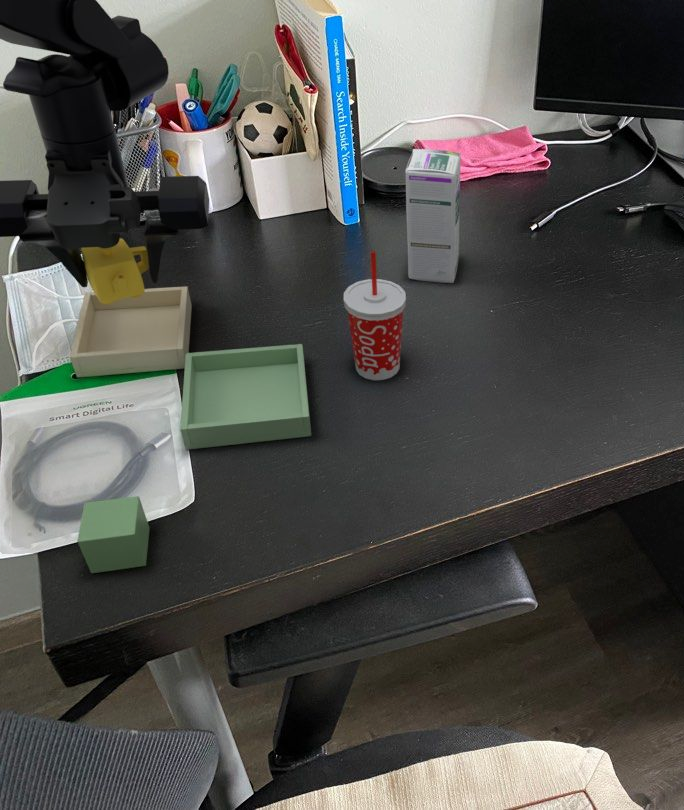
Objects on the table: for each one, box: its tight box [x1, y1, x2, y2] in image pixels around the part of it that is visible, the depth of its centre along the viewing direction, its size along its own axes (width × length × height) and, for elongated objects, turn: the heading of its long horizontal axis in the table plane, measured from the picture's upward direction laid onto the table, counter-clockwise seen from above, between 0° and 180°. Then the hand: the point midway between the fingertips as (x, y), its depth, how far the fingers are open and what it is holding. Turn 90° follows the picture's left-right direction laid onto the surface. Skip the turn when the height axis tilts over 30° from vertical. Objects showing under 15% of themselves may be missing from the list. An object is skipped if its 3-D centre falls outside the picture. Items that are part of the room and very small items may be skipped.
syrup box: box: [404, 148, 462, 284], centre depth 97 cm, size 6×6×14 cm
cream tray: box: [69, 286, 193, 378], centre depth 85 cm, size 10×11×3 cm
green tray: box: [179, 343, 312, 451], centre depth 80 cm, size 11×11×3 cm
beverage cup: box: [343, 250, 407, 381], centre depth 82 cm, size 6×6×14 cm
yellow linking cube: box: [80, 237, 149, 304], centre depth 80 cm, size 8×6×5 cm
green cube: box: [77, 495, 151, 574], centre depth 65 cm, size 4×4×4 cm
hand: (120, 283), depth 81 cm, fingers closed on yellow linking cube, 6 cm apart
